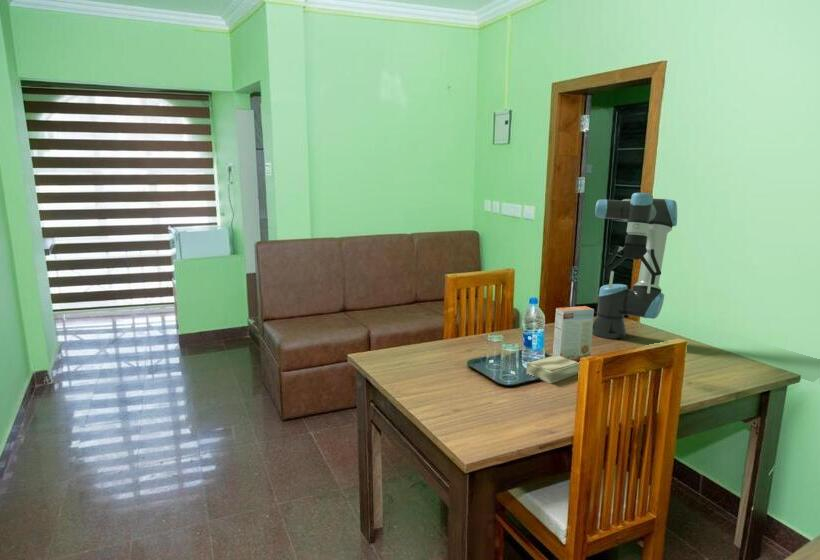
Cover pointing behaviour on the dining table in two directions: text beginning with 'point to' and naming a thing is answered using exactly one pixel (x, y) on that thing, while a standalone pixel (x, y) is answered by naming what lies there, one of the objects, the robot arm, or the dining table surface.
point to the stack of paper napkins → (552, 368)
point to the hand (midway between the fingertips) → (628, 290)
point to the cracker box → (573, 332)
